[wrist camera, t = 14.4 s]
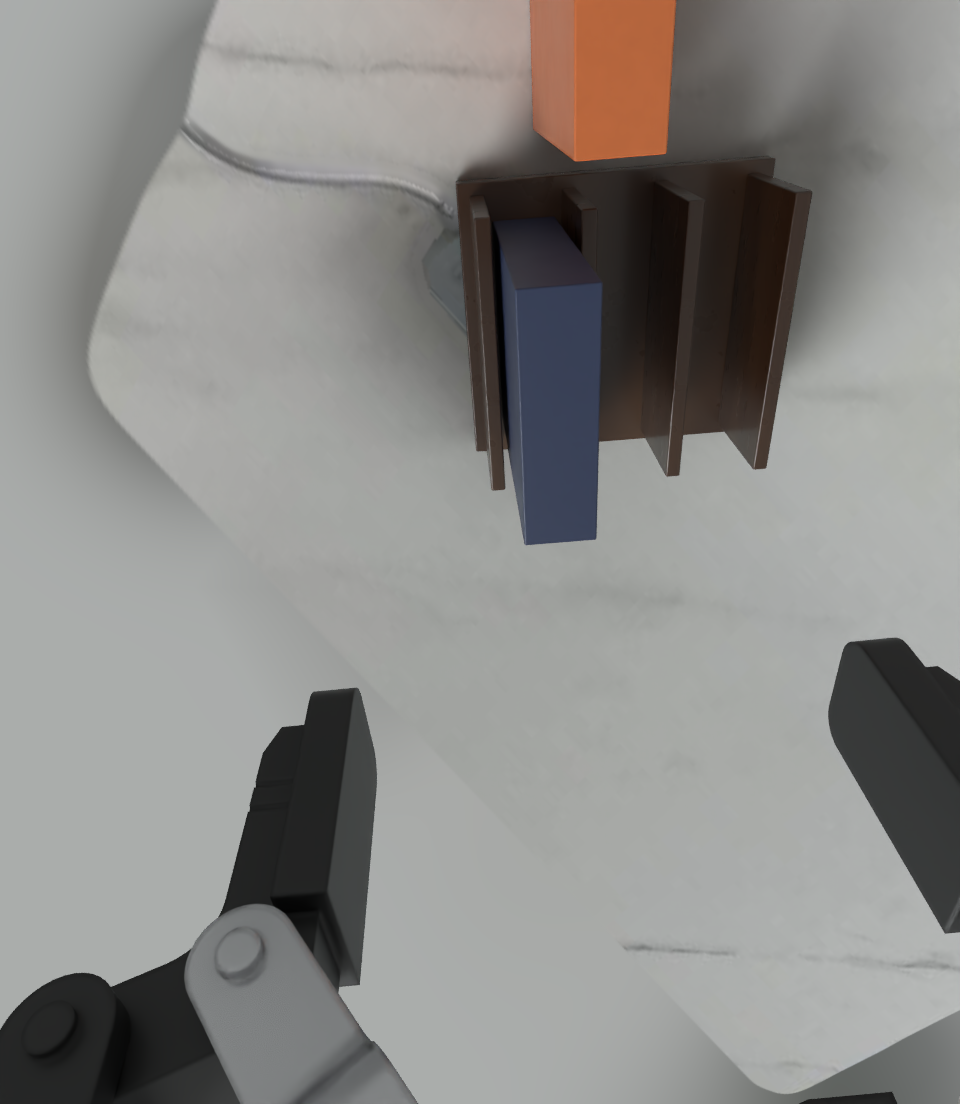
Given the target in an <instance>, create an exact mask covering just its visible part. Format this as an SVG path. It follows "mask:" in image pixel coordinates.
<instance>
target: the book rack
mask: <svg viewBox="0 0 960 1104" xmlns="http://www.w3.org/2000/svg"><path fill="white" fill-rule="evenodd" d="M774 166H775V158H773V157H769V156H763V157H750V158H738V159H726V160H713V161H701V162H688V163H676V164H663V165H651V166H639V167H626V168H614V169H601V170H589V171H576V172H564V173H552V174H539V175H527V176H514V177H502V178H489V179H477V180H465V181H456V194H457V207H458V220H459V233H460V246H461V259H462V272H463V285H464V298H465V312H466V325H467V338H468V351H469V364H470V377H471V390H472V403H473V416H474V429H475V442H476V451H487V455H488V464H489V472H490V481H491V489H492V490H493V491H494V490H504V489H505V474H504V456H503V449H508V446H507V440H506V435H505V429H504V423H503V409H502V390H501V372H500V353H499V334H498V315H497V296H496V278H495V259H494V240H493V221H501V220H514V219H526V218H539V217H551V216H554V217H555V218H556V220H557V221H558V222H559V224H560V225H561V226H562V228H563V229H564V230H565V232H566V233H567V235H568V236H569V237H570V239H571V240H572V241H573V243H574V244H575V246H576V247H577V248H578V250H579V251H580V252H581V254H582V255H583V257H584V258H585V259H586V261H587V262H588V263H589V265H590V266H591V268H592V269H593V270H594V272H595V273H596V274H597V276H598V277H599V279H600V280H601V281H602V283H603V294H602V334H601V374H600V414H599V442H600V441H613V440H625V439H638V438H646V440H647V442H648V444H649V446H650V447H651V449H652V451H653V453H654V455H655V457H656V459H657V460H658V462H659V464H660V466H661V468H662V470H663V471H664V473H665V475H666V476H678V475H679V472H680V462H681V451H682V440H683V435H687V434H700V433H712V432H725V433H726V434H727V436H728V437H729V438H730V440H731V441H732V442H733V444H734V445H735V446H736V447H737V449H738V450H739V451H740V453H741V454H742V455H743V457H744V458H745V459H746V461H747V462H748V463H749V464H750V466H751V467H752V468H753V469H765V468H766V466H767V460H768V454H769V448H770V442H771V436H772V430H773V424H774V418H775V412H776V406H777V400H778V394H779V388H780V382H781V376H782V370H783V364H784V358H785V352H786V346H787V340H788V334H789V329H790V323H791V317H792V311H793V305H794V299H795V293H796V287H797V281H798V275H799V269H800V263H801V257H802V251H803V245H804V239H805V233H806V227H807V221H808V215H809V209H810V203H811V197H812V191H810V190H807V189H804V188H802V187H799V186H796V185H793V184H790V183H787V182H785V181H782V180H779V179H776V178H773V173H774Z"/></svg>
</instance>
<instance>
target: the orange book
mask: <svg viewBox="0 0 960 1104" xmlns="http://www.w3.org/2000/svg"><path fill="white" fill-rule="evenodd" d="M675 15H676V0H530V25H531V64H532V102H533V129H534V131H536V132H537V133H538V134H540V135H541V136H542V137H544V138H545V139H546V140H548V141H549V142H550V143H552V144H553V145H554V146H555V147H557V148H558V149H559V150H561V151H562V152H563V153H565V154H566V155H567V156H569V157H570V158H571V159H572V160H574V161H576V162H578V161H590V160H601V159H613V158H625V157H637V156H649V155H661V154H666V152H667V142H668V126H669V110H670V94H671V78H672V62H673V47H674V31H675Z"/></svg>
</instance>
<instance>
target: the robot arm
mask: <svg viewBox="0 0 960 1104" xmlns="http://www.w3.org/2000/svg"><path fill="white" fill-rule="evenodd" d="M828 719H829V726H830V731H831V734H832V737H833V740H834V742H835V745H836V747H837V748H838V750H839V752H840V754H841V755H842V757H843V759H844V760H845V762H846V764H847V766H848V767H849V769H850V771H851V772H852V774H853V776H854V778H855V779H856V781H857V783H858V785H859V786H860V788H861V790H862V791H863V793H864V795H865V797H866V798H867V800H868V802H869V803H870V805H871V807H872V809H873V810H874V812H875V814H876V816H877V817H878V819H879V821H880V822H881V824H882V826H883V828H884V829H885V831H886V833H887V834H888V836H889V838H890V840H891V841H892V843H893V845H894V847H895V848H896V850H897V852H898V853H899V855H900V857H901V859H902V860H903V862H904V864H905V865H906V867H907V869H908V871H909V872H910V874H911V876H912V877H913V879H914V881H915V883H916V884H917V886H918V888H919V890H920V891H921V893H922V895H923V896H924V898H925V900H926V902H927V903H928V905H929V907H930V908H931V910H932V912H933V914H934V915H935V917H936V919H937V921H938V922H939V924H940V926H941V927H942V929H943V931H944V933H956V932H960V681H959V680H958V679H956V678H955V677H953V676H952V675H950V674H949V673H947V672H946V671H944V670H943V669H941V668H940V667H938V666H935V667H925V666H924V665H923V663H922V662H921V661H920V660H919V658H918V657H917V656H916V655H915V653H914V652H913V651H912V650H911V649H910V647H909V646H908V645H907V644H906V643H905V642H904V641H903V640H901V639H899V638H886V639H876V640H865V641H855V642H849V643H847V644H846V646H845V647H844V649H843V652H842V656H841V660H840V664H839V668H838V672H837V676H836V680H835V685H834V689H833V693H832V697H831V701H830V705H829V711H828ZM376 787H377V771H376V758H375V752H374V747H373V742H372V739H371V735H370V730H369V726H368V722H367V718H366V714H365V709H364V706H363V701H362V697H361V693H360V691H359V689H358V688H349V689H338V690H328V691H317V692H313V693H312V694H311V696H310V700H309V705H308V709H307V714H306V720H305V724H304V725H299V726H289V727H282V728H281V729H280V730H279V732H278V733H277V735H276V736H275V737H274V739H273V740H272V741H271V743H270V744H269V746H268V747H267V748H266V750H265V751H264V752H263V755H262V759H261V763H260V767H259V770H258V774H257V779H256V788H254V791H253V794H252V798H251V802H250V812H248V814H247V818H246V822H245V826H244V829H243V834H242V838H241V841H240V845H239V849H238V853H237V857H236V861H235V865H234V869H233V873H232V877H231V881H230V885H229V889H228V892H227V896H226V900H225V903H224V906H223V909H222V911H221V913H220V915H219V917H218V918H217V919H216V920H215V921H213V922H212V923H211V924H210V925H209V926H208V927H207V928H206V929H205V930H204V931H203V932H202V933H201V935H200V936H199V937H198V939H197V940H196V942H195V944H194V945H193V947H192V948H191V949H190V950H189V951H188V952H186V953H185V954H183V955H182V956H180V957H179V958H177V959H175V960H173V961H171V962H169V963H167V964H165V965H163V966H160V967H158V968H155V969H153V970H151V971H148V972H146V973H144V974H141V975H139V976H136V977H134V978H131V979H129V980H127V981H124V982H122V983H120V984H117V985H115V986H112V987H110V986H109V984H108V983H107V982H106V981H105V980H103V979H102V978H101V977H99V976H96V975H94V974H89V973H74V974H70V975H65V976H63V977H60V978H57V979H55V980H53V981H51V982H49V983H47V984H45V985H43V986H42V987H40V988H39V989H37V990H36V991H35V992H33V993H32V994H31V995H30V996H28V997H27V998H26V999H25V1000H24V1001H23V1002H22V1003H21V1004H20V1005H19V1006H18V1007H17V1008H16V1009H15V1010H14V1011H13V1012H12V1014H11V1015H10V1016H9V1017H8V1019H7V1020H6V1022H5V1023H4V1025H3V1026H2V1028H1V1030H0V1104H418V1103H417V1101H416V1099H415V1098H414V1096H413V1095H412V1094H411V1092H410V1090H409V1089H408V1088H407V1086H406V1084H405V1083H404V1081H403V1080H402V1078H401V1077H400V1075H399V1074H398V1072H397V1071H396V1069H395V1068H394V1066H393V1065H392V1063H391V1062H390V1061H389V1059H388V1058H387V1056H386V1055H385V1053H384V1052H383V1051H382V1050H381V1048H380V1047H379V1046H378V1045H377V1044H376V1043H375V1042H374V1041H370V1039H369V1038H368V1037H367V1036H366V1034H365V1033H364V1032H363V1030H362V1029H361V1027H360V1026H359V1024H358V1023H357V1021H356V1020H355V1018H354V1017H353V1015H352V1014H351V1012H350V1011H349V1009H348V1007H347V1006H346V1004H345V1003H344V1001H343V1000H342V998H341V997H340V995H339V994H338V991H339V987H342V986H352V985H360V974H361V963H362V950H363V939H364V928H365V915H366V905H367V893H368V881H369V870H370V858H371V846H372V835H373V822H374V811H375V799H376ZM800 1104H897V1102H896V1100H895V1097H894V1095H893V1093H892V1092H886V1093H875V1094H864V1095H854V1096H842V1097H832V1098H821V1099H809V1100H806V1101H804V1102H802V1103H800ZM957 1104H960V1098H959V1100H958V1103H957Z"/></svg>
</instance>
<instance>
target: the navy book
mask: <svg viewBox="0 0 960 1104" xmlns="http://www.w3.org/2000/svg"><path fill="white" fill-rule="evenodd" d="M493 240H494V259H495V278H496V296H497V315H498V334H499V353H500V372H501V390H502V409H503V423H504V429H505V435H506V440H507V446H508V452H509V458H510V463H511V469H512V475H513V481H514V486H515V492H516V498H517V504H518V509H519V515H520V521H521V527H522V532H523V538H524V544H525V545H533V544H546V543H558V542H571V541H583V540H595V539H596V534H597V494H598V454H599V414H600V374H601V334H602V294H603V283H602V281H601V280H600V279H599V277H598V276H597V274H596V273H595V272H594V270H593V269H592V268H591V266H590V265H589V263H588V262H587V261H586V259H585V258H584V257H583V255H582V254H581V252H580V251H579V250H578V248H577V247H576V246H575V244H574V243H573V241H572V240H571V239H570V237H569V236H568V235H567V233H566V232H565V230H564V229H563V228H562V226H561V225H560V224H559V222H558V221H557V220H556V218H555V217H554V216H551V217H539V218H526V219H514V220H501V221H493Z"/></svg>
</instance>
